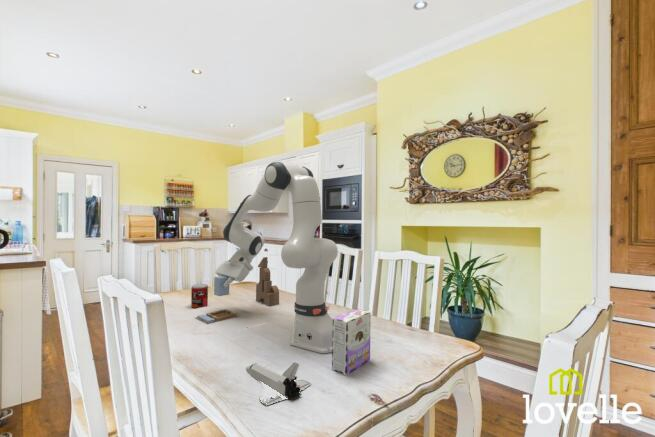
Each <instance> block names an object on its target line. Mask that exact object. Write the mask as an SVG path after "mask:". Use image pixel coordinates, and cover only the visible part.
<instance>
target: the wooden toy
mask: <svg viewBox="0 0 655 437" xmlns="http://www.w3.org/2000/svg"><path fill="white" fill-rule="evenodd" d="M257 268H259V270H258V271H259V276H258V278H259V279H258V283H257V284H256V286H255V289H256V290H255V302H258V303H265V306H268V307H274V306H277V305H279V304H280V289H279V287H278V286H277V285H273V281H272V280H271V270H270V268H269V267H268V256H267V257H266V256H265V257H264V256H263V257H262V259H261V261H259V263H258V266H257Z"/></svg>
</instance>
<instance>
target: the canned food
mask: <svg viewBox="0 0 655 437" xmlns="http://www.w3.org/2000/svg"><path fill="white" fill-rule="evenodd" d="M190 289H191V294H190V295H191V300H190V302H191V303H190V304H191V308H192V309H195V310H196V309H200V308H206V307H208V304H209V302H208V301H209V299H208V297H209V293H208V292H209V286H208V283H207V284H206V283H198V284H192V285H191V288H190Z"/></svg>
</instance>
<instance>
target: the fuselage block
mask: <svg viewBox="0 0 655 437" xmlns="http://www.w3.org/2000/svg"><path fill="white" fill-rule="evenodd" d="M228 278H229V277H227V276H215V277H214V278H213V280H214V285H213V286H214V287H213V288H214V290H213V293H214V296H217V297H223V296H229V295H230V284H229V285H228V286H227V287H224V286H223V285H222V284H223V283H224V282H226V281H227V280H228Z"/></svg>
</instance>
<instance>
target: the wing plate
mask: <svg viewBox="0 0 655 437" xmlns="http://www.w3.org/2000/svg"><path fill="white" fill-rule="evenodd" d="M197 318H199V319H201V320H203V321H205V322H207V323H211V322H215V319H213V318H211V317H208V316H206V314H199V315H197ZM215 323H216V322H215ZM211 324H212V323H211Z"/></svg>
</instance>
